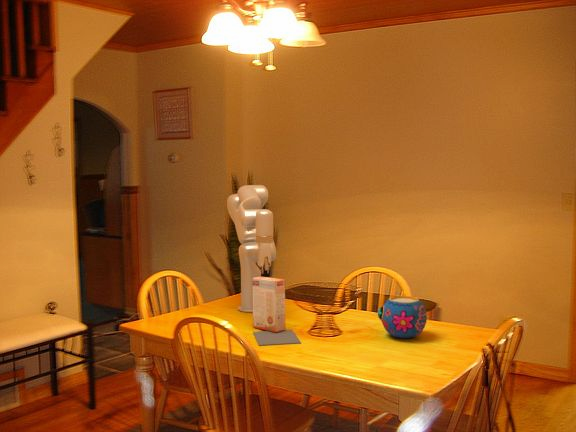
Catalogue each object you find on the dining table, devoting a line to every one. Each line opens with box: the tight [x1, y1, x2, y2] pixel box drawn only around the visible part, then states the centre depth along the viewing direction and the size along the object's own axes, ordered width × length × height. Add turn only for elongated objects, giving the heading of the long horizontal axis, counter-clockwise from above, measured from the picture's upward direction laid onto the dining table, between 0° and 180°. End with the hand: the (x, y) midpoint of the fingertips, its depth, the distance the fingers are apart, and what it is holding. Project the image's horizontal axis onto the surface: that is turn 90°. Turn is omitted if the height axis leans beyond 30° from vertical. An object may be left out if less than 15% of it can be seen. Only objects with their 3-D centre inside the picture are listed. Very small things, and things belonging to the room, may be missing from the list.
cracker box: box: [252, 276, 286, 332], centre depth 238 cm, size 14×6×21 cm, turn 43°
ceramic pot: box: [377, 295, 428, 339], centre depth 228 cm, size 18×18×15 cm
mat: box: [252, 329, 302, 347], centre depth 227 cm, size 18×16×1 cm
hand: (265, 282), depth 249 cm, fingers closed
